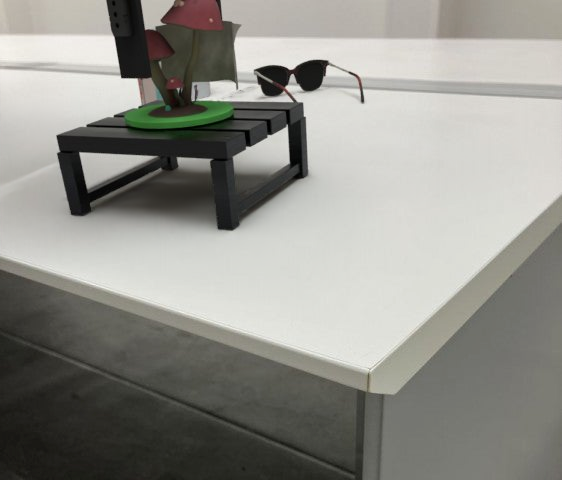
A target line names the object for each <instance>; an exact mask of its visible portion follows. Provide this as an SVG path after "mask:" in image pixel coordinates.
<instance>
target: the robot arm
mask: <svg viewBox="0 0 562 480" xmlns="http://www.w3.org/2000/svg"><path fill="white" fill-rule="evenodd" d="M105 2H106V8H107V14H108V19H109V22H110V23H109V25H110V31H111V33H112V36H113V38H114V43H115V50H116V55H117V61H118V67H119V73H120V79H123V80H124V79H129V80H130V79H132V80H133V79H134V80H135V79H136V80H138V79H148V78H151V77H152V73H151V66H150V59H149V53H148V46H147V39H146V32H145V30H146V26H145V25H146V24H145V20H144V11H143V6H142V0H105ZM216 2H217V5H218V7H219V11H220V16H221V20H222V21H223V12H222V0H216Z"/></svg>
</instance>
